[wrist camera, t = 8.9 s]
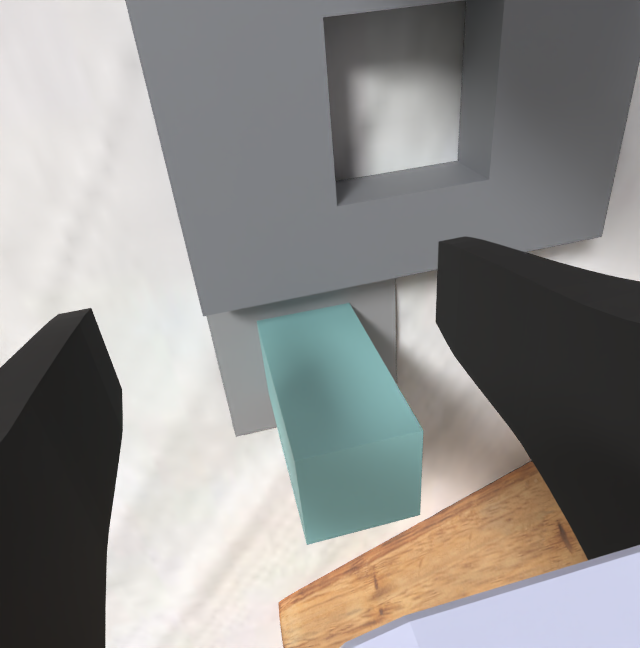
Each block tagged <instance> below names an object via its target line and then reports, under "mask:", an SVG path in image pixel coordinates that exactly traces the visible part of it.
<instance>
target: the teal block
mask: <svg viewBox="0 0 640 648" xmlns="http://www.w3.org/2000/svg"><path fill="white" fill-rule="evenodd" d="M257 327H258V333H259V339H260V345H261V350H262V356H263V362H264V368H265V374H266V380H267V386H268V392H269V397H270V401H271V405H272V409H273V413H274V417H275V421H276V424H277V428H278V432H279V436H280V440H281V444H282V448H283V452H284V456H285V460H286V464H287V468H288V472H289V476H290V480H291V484H292V488H293V492H294V496H295V499H296V503H297V507H298V511H299V515H300V519H301V523H302V527H303V531H304V535H305V539H306V543H307V545H308V544H312V543H316V542H319V541H323V540H327V539H331V538H335V537H338V536H342V535H346V534H350V533H354V532H357V531H361V530H365V529H369V528H372V527H376V526H380V525H384V524H388V523H391V522H395V521H399V520H403V519H407V518H410V517H414V516H418V515H420V503H421V477H422V451H423V429H422V427H421V426H420V424H419V422H418V420H417V419H416V417H415V415H414V414H413V412H412V410H411V408H410V407H409V405H408V403H407V402H406V400H405V398H404V396H403V395H402V393H401V391H400V389H399V388H398V386H397V384H396V383H395V381H394V379H393V377H392V376H391V374H390V372H389V371H388V369H387V367H386V365H385V364H384V362H383V360H382V358H381V357H380V355H379V353H378V352H377V350H376V348H375V346H374V345H373V343H372V341H371V340H370V338H369V336H368V334H367V333H366V331H365V329H364V327H363V326H362V324H361V322H360V321H359V319H358V317H357V315H356V314H355V312H354V310H353V309H352V307H351V305H350V303H346V304H341V305H336V306H331V307H326V308H320V309H315V310H310V311H305V312H300V313H295V314H289V315H284V316H279V317H274V318H269V319H264V320H258V321H257Z"/></svg>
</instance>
